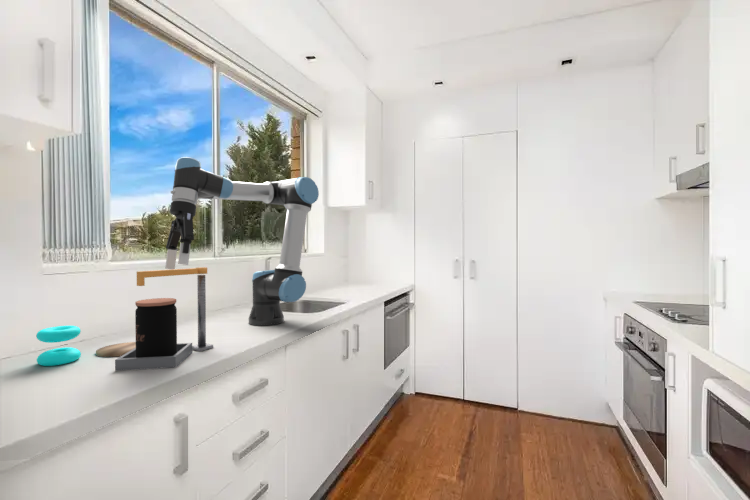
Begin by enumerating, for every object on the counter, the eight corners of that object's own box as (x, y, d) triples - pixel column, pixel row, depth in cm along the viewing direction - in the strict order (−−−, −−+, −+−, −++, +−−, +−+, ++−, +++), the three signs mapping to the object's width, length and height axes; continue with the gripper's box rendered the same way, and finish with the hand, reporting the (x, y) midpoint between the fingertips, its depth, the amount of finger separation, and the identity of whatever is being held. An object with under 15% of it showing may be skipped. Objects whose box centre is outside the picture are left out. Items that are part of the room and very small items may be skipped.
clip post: (203, 345, 128) (203, 274, 128) (213, 347, 126) (212, 274, 125) (190, 349, 124) (189, 275, 123) (199, 351, 121) (199, 275, 121)
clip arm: (202, 279, 127) (202, 267, 127) (209, 280, 125) (209, 267, 125) (135, 285, 108) (134, 271, 108) (141, 286, 106) (141, 271, 106)
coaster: (158, 343, 132) (158, 340, 132) (139, 355, 117) (139, 353, 117) (110, 345, 129) (110, 342, 129) (85, 358, 114) (85, 355, 114)
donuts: (75, 330, 108) (30, 333, 104) (75, 364, 108) (30, 369, 104) (84, 323, 117) (43, 326, 113) (84, 355, 117) (44, 359, 113)
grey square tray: (192, 352, 121) (192, 342, 121) (175, 367, 105) (175, 356, 105) (140, 354, 118) (139, 345, 118) (115, 370, 103) (115, 359, 103)
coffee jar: (139, 357, 114) (138, 299, 114) (178, 353, 119) (178, 297, 118) (132, 368, 105) (131, 304, 104) (175, 363, 109) (174, 301, 109)
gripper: (160, 209, 130) (152, 269, 126) (184, 190, 113) (175, 260, 108) (183, 213, 135) (176, 272, 131) (209, 197, 118) (202, 263, 113)
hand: (176, 266), depth 120 cm, fingers open, 13 cm apart
